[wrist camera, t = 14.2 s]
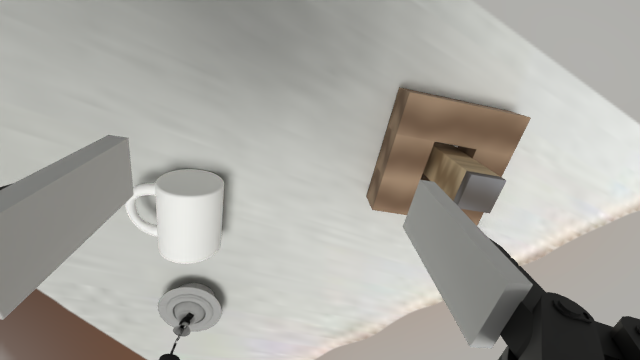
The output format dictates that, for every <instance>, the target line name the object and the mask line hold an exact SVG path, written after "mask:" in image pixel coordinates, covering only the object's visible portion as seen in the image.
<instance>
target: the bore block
mask: <svg viewBox="0 0 640 360" xmlns="http://www.w3.org/2000/svg"><path fill="white" fill-rule="evenodd" d="M530 119H531V118H530V117H527V116H524V115H520V114H517V113H514V112H511V111H507V110H502V109H497V108H493V107H488V106H483V105H479V104H474V103H469V102H465V101H460V100H455V99H451V98H446V97H441V96H437V95H432V94H427V93H423V92H418V91H413V90H409V89H404V88H400V87H399V90H398V93H397V97H396V100H395V103H394V107H393V110H392V113H391V117H390V120H389V123H388V126H387V130H386V133H385V136H384V140H383V143H382V146H381V150H380V153H379V156H378V160H377V163H376V166H375V169H374V173H373V176H372V179H371V183H370V186H369V189H368V193H367V196H366V197H367V199H368V201H369V203H370V206H371V208H372V210H377V211H383V212H390V213H397V214H403V215H407V214H408V211H409V208H410V206H411V203H412V200H413V197H414V195H415V192H416V189H417V186H418V184H419V181H420V180H426V181H430V180H429V179H428V178H427V177H426V176H425V175H424V174H423V171H424V169H425V166H426V163H427V161H428V158H429V155H430V153H431V150H432V147H433V145H434V142H441V143H446V144H451V145H456V146H458V149H459V150H460V151H462V152H463V153H465V154H467V155H468V156H470V157H471V158H473V159H474V160H476V161H477V162H479V163H480V164H482V165H483V166H485V167H486V168H488V169H489V170H491V171H492V172H494V173H495V174H497V175H499V176H500V177H502V175H503V173H504V171H505V169H506V167H507V165H508V163H509V161H510V159H511V157H512V155H513V153H514V151H515V149H516V147H517V145H518V143H519V141H520V139H521V137H522V135H523V133H524V131H525V129H526V127H527V125H528V123H529V121H530ZM461 210H462V211H463V212H464V213H465V214H466V215H467V216H468V217H469V218H470V219H471V220H472V221H473V222H474V224H475V225H478V223H479V221H480V219H481V217H482V215H483V213H484V212H479V211H472V210H466V209H461Z"/></svg>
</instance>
